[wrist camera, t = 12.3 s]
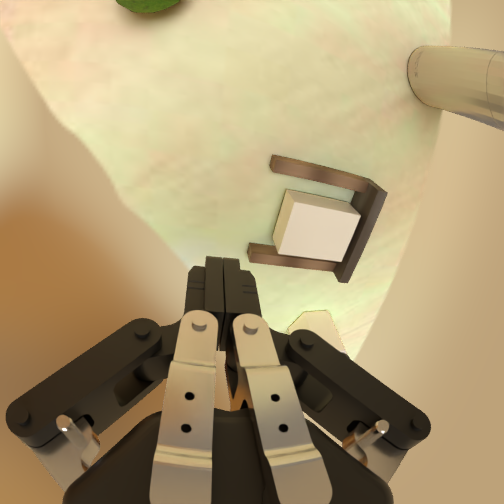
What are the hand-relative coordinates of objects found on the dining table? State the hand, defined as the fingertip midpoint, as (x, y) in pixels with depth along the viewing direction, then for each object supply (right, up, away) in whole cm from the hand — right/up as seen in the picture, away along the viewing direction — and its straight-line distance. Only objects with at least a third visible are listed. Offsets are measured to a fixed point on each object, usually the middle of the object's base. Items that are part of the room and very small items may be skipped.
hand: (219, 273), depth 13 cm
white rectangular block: (+9, +6, +25) cm, 28 cm away
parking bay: (+9, +6, +25) cm, 27 cm away
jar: (+12, -12, +38) cm, 42 cm away
